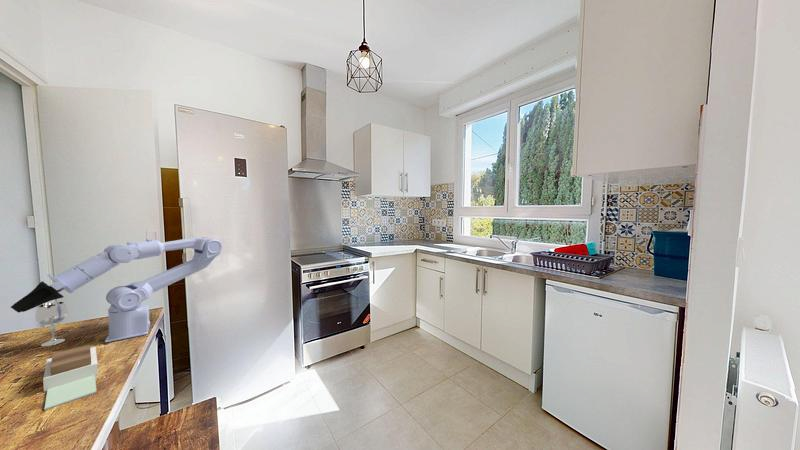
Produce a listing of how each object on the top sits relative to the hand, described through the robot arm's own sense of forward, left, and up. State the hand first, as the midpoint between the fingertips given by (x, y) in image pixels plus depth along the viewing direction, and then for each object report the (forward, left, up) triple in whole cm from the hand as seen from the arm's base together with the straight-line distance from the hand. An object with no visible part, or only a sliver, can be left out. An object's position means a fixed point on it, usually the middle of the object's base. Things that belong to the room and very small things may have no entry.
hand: (16, 309), depth 67 cm
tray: (-11, +13, -15) cm, 23 cm away
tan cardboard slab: (-12, +14, -12) cm, 22 cm away
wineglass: (-2, -13, -15) cm, 20 cm away
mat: (-13, +23, -15) cm, 31 cm away
